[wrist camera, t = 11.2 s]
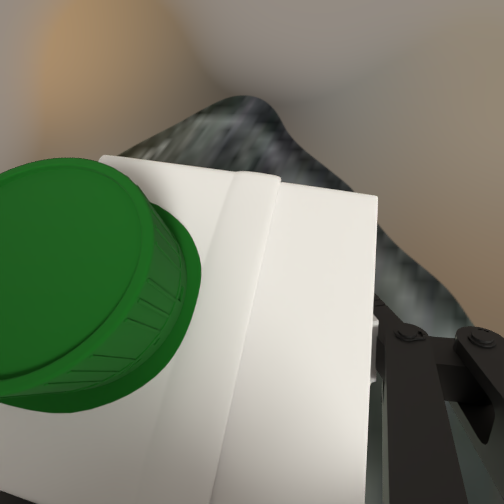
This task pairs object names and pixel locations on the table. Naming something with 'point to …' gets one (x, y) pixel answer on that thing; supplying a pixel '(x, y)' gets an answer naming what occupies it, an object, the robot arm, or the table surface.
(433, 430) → the robot arm
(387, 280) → the table surface
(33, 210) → the soya milk
